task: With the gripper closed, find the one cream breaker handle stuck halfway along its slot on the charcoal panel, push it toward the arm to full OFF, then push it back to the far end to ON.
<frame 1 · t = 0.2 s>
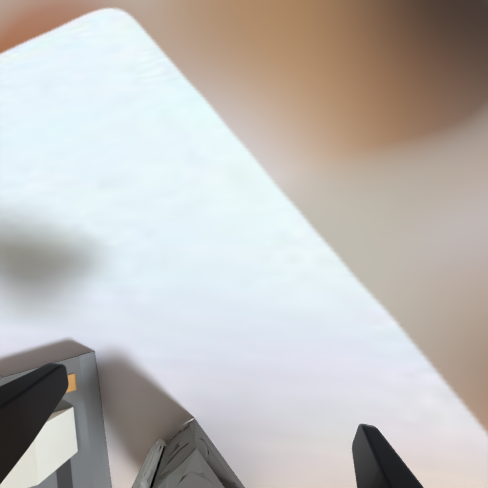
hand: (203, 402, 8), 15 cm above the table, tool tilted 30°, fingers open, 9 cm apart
electrical switch: (213, 465, 20), on the table
handle 1: (39, 446, 17), point 4 cm above the table, slide at 8.0 cm
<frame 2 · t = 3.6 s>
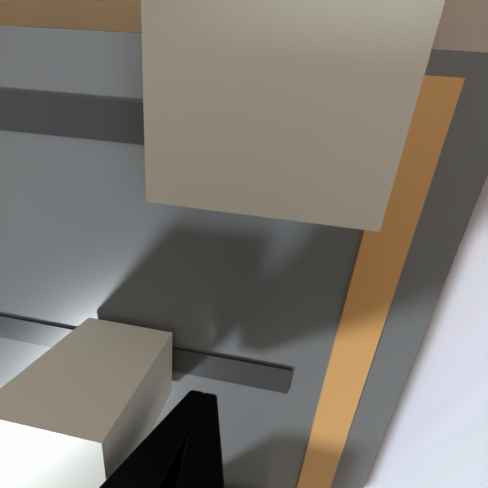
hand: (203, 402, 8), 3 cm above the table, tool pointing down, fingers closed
handle middle: (97, 398, 7), point 4 cm above the table, slide at 3.9 cm, touching gripper
handle 2: (274, 127, 4), point 4 cm above the table, slide at 8.0 cm
breaker panel: (139, 314, 11), on the table
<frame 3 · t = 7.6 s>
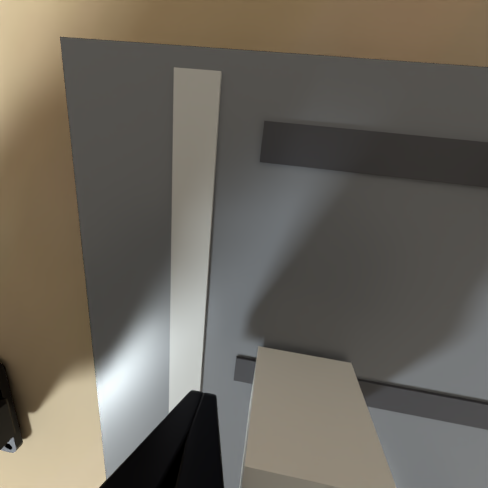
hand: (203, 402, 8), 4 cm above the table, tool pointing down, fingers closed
handle middle: (301, 436, 7), point 4 cm above the table, slide at 0.7 cm, touching gripper
breaker panel: (349, 350, 10), on the table
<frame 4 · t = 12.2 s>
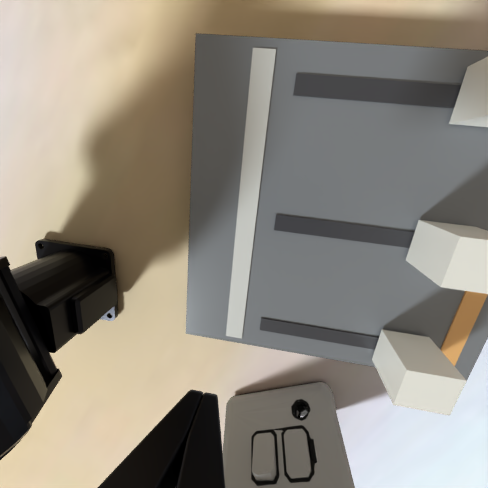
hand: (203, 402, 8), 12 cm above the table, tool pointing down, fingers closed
electrical switch: (286, 406, 23), on the table
handle 1: (412, 368, 15), point 4 cm above the table, slide at 8.0 cm
handle middle: (459, 254, 13), point 4 cm above the table, slide at 8.1 cm
breaker panel: (341, 224, 17), on the table
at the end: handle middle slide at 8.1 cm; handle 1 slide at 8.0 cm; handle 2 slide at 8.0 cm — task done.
